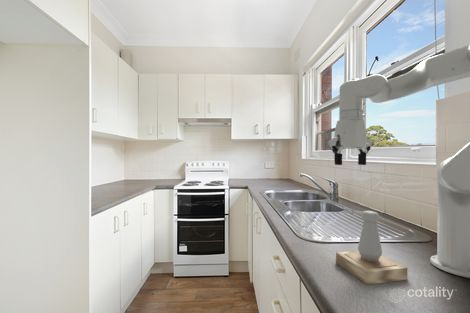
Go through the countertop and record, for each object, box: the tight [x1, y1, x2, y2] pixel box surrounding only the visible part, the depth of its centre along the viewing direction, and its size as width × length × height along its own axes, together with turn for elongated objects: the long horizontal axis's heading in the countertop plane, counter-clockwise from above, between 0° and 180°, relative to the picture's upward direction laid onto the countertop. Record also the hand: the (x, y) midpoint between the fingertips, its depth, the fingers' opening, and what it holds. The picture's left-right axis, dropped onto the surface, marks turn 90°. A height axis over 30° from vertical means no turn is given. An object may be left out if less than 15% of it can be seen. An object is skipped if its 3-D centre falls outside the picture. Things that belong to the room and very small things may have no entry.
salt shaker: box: [357, 210, 383, 262], centre depth 64 cm, size 6×6×13 cm
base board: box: [335, 250, 408, 286], centre depth 64 cm, size 12×12×3 cm
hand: (350, 164), depth 83 cm, fingers open, 9 cm apart
